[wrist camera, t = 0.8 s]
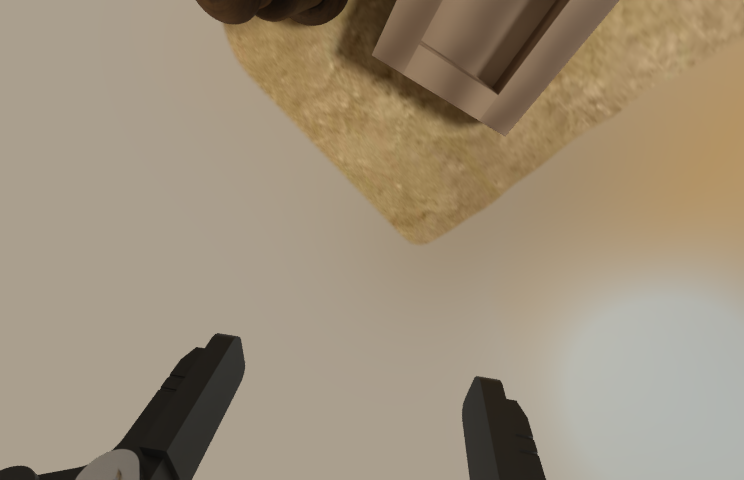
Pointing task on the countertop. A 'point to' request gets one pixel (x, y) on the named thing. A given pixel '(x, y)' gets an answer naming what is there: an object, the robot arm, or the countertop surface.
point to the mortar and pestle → (273, 10)
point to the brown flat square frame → (487, 49)
